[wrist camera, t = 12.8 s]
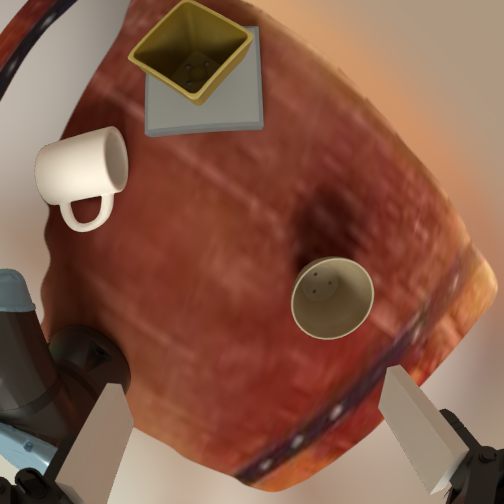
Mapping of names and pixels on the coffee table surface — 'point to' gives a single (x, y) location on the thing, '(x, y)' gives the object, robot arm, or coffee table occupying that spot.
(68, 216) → the mug
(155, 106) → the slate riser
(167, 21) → the flower pot
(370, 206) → the coffee table surface
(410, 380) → the robot arm
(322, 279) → the round planter pot
